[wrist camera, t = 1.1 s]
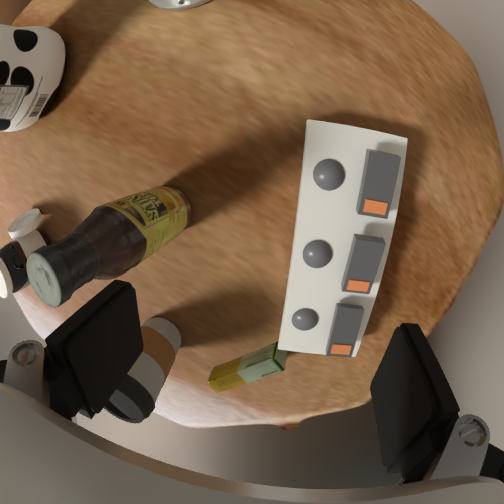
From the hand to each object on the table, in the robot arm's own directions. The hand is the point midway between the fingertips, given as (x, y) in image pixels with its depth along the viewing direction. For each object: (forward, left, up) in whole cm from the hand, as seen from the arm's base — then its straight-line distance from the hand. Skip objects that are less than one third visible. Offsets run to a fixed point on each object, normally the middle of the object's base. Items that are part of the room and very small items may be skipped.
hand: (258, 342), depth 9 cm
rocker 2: (-4, +8, -18) cm, 20 cm away
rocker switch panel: (+4, +6, -23) cm, 24 cm away
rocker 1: (+12, +8, -18) cm, 23 cm away
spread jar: (+9, -41, -23) cm, 48 cm away
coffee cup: (+21, -16, -23) cm, 35 cm away
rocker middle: (+4, +8, -18) cm, 20 cm away
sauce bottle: (+2, -14, -23) cm, 27 cm away
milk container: (-19, -40, -23) cm, 50 cm away
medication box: (+23, -3, -23) cm, 33 cm away
